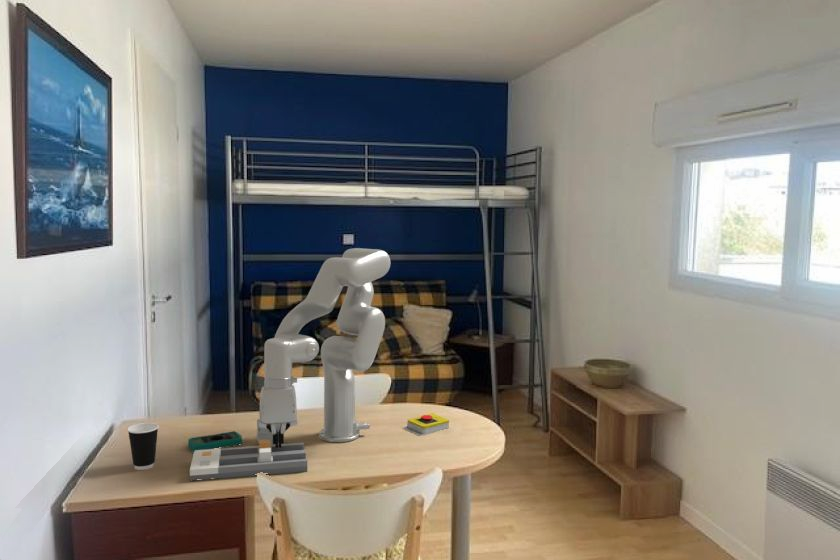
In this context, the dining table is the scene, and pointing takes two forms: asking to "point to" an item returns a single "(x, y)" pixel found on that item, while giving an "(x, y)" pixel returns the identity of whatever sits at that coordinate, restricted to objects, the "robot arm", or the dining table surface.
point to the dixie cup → (143, 444)
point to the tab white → (265, 455)
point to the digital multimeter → (215, 441)
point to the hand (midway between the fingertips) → (278, 446)
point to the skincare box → (266, 432)
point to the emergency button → (427, 424)
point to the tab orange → (264, 444)
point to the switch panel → (247, 462)
